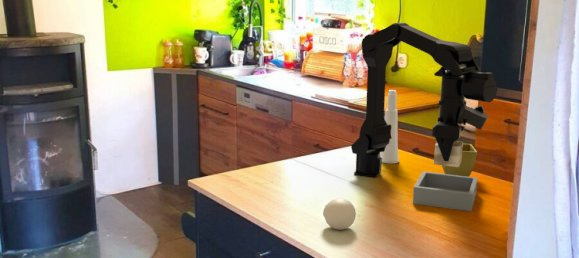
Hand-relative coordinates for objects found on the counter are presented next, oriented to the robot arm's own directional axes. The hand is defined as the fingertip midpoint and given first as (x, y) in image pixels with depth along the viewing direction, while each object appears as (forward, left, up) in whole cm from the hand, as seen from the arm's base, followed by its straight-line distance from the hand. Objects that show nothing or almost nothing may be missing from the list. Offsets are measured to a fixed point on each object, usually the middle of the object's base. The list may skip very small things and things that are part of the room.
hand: (447, 157), depth 151 cm
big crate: (0, 0, -11) cm, 11 cm away
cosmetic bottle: (-20, +28, -11) cm, 36 cm away
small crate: (0, 0, -1) cm, 1 cm away
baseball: (-19, -29, -11) cm, 37 cm away
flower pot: (+1, +19, -11) cm, 22 cm away
